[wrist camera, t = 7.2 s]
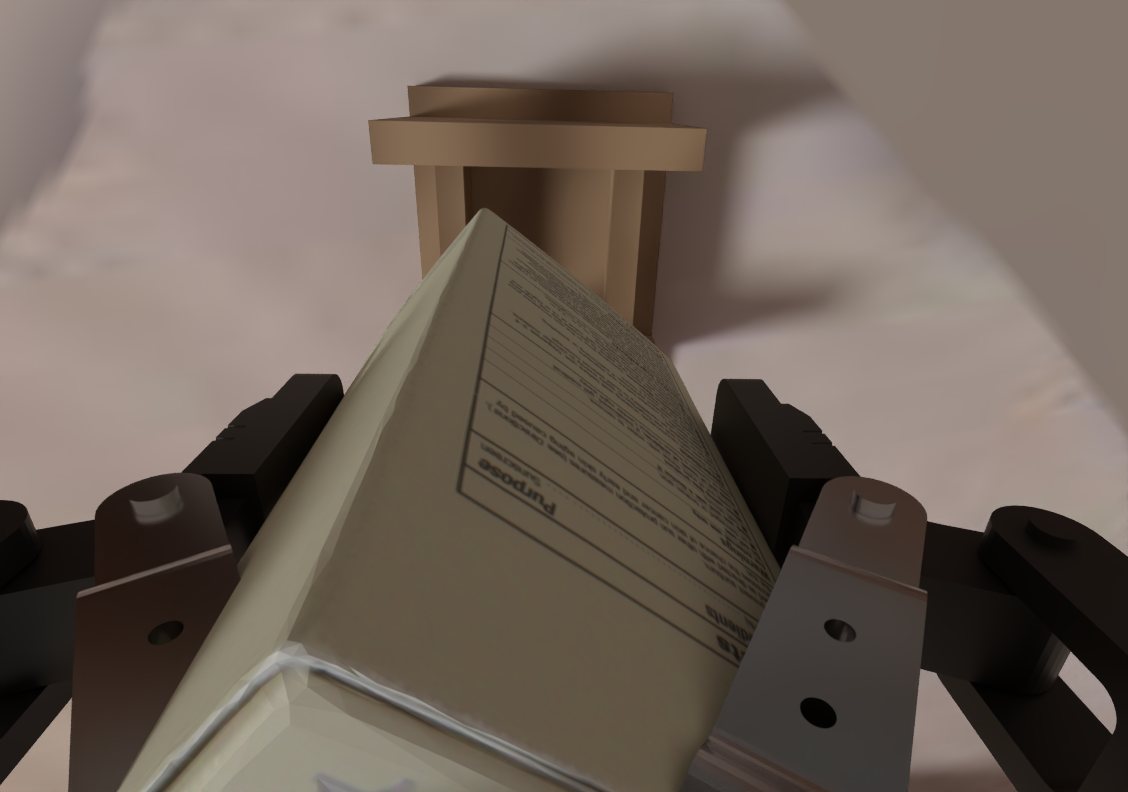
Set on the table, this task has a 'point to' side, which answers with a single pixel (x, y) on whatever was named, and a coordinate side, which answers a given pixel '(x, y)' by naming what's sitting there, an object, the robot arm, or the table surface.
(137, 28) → the table surface
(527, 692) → the skincare box
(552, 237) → the stand
